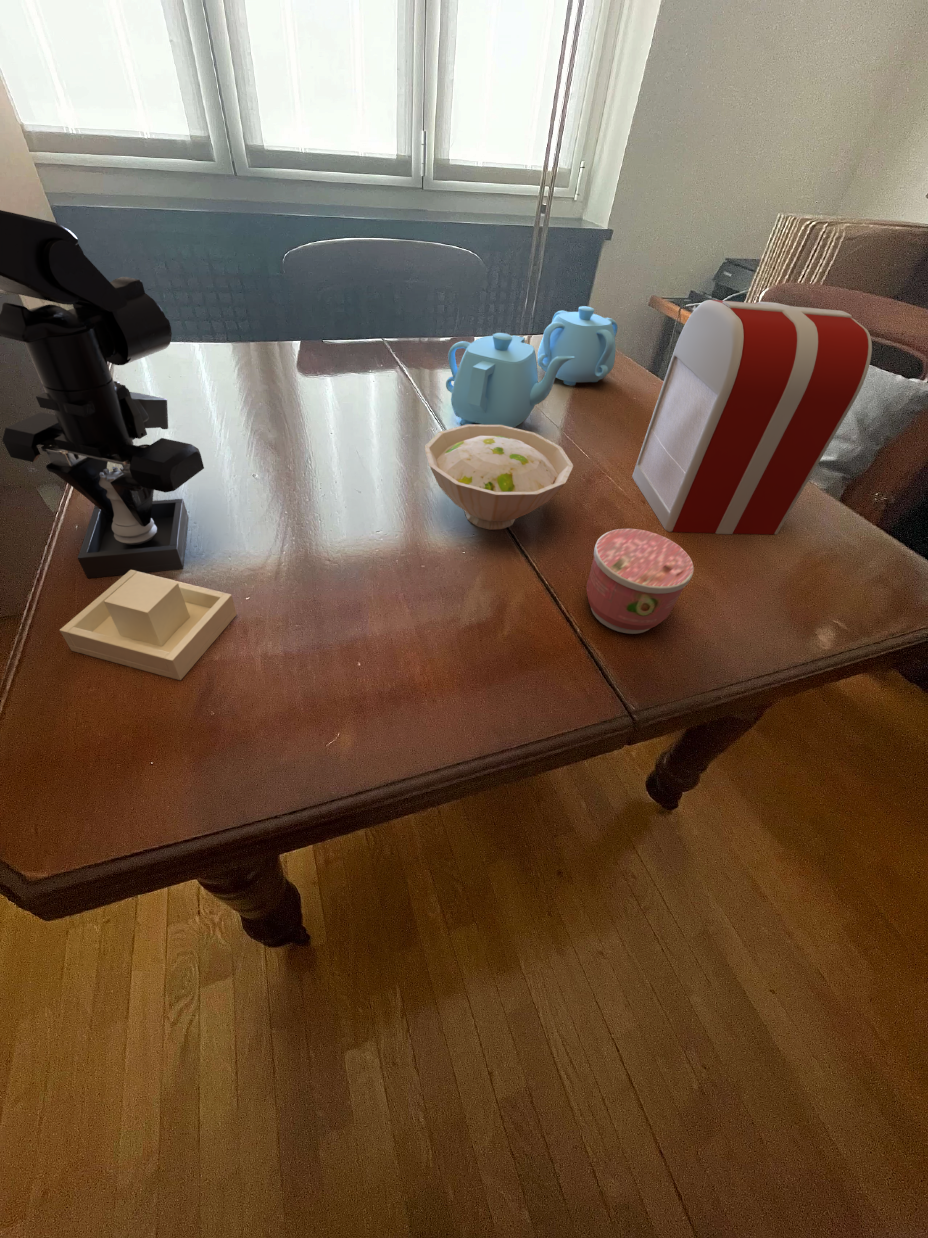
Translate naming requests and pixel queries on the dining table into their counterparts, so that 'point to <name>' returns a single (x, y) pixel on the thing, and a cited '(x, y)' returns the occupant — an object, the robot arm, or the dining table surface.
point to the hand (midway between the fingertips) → (131, 520)
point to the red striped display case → (748, 413)
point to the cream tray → (173, 659)
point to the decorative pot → (579, 345)
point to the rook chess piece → (124, 514)
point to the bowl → (497, 471)
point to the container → (636, 579)
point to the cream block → (147, 609)
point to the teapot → (498, 380)
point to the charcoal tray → (157, 554)
